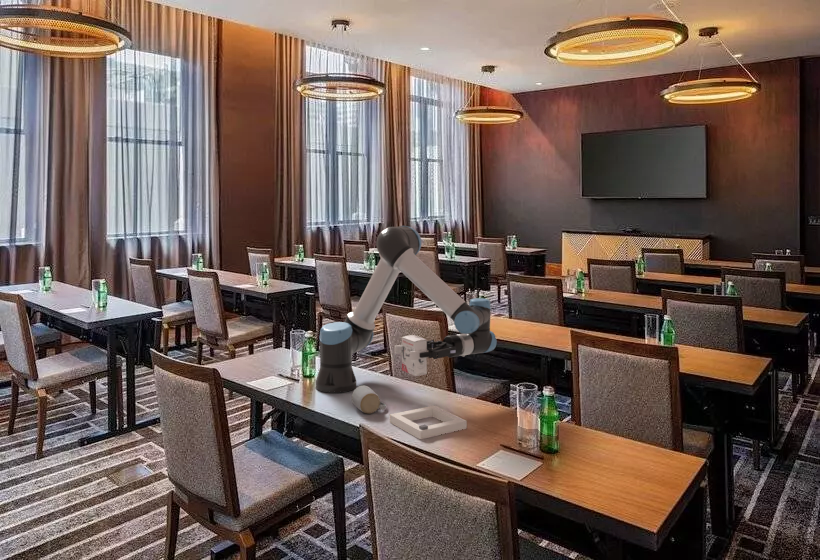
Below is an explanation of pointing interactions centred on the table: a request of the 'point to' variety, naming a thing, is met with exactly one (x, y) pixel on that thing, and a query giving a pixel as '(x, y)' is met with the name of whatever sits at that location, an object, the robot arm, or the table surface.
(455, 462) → the table surface
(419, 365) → the ink box
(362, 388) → the ceramic mug
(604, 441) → the table surface
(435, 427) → the socket plate
